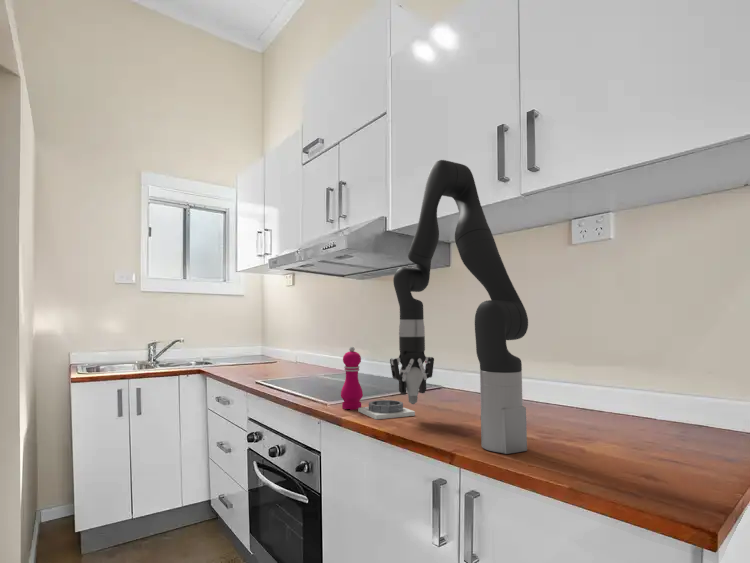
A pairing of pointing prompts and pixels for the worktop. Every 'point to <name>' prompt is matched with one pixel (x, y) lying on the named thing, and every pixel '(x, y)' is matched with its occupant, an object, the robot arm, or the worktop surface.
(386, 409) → the socket collar
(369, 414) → the socket board
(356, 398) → the pepper mill
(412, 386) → the lightbulb
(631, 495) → the worktop surface
